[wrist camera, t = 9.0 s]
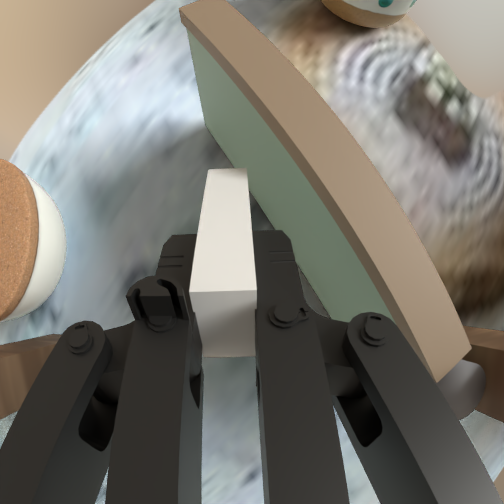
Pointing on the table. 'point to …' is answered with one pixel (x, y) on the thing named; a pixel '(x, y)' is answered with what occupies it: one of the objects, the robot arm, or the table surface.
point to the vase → (370, 11)
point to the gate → (325, 195)
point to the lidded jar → (27, 243)
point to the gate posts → (38, 349)
